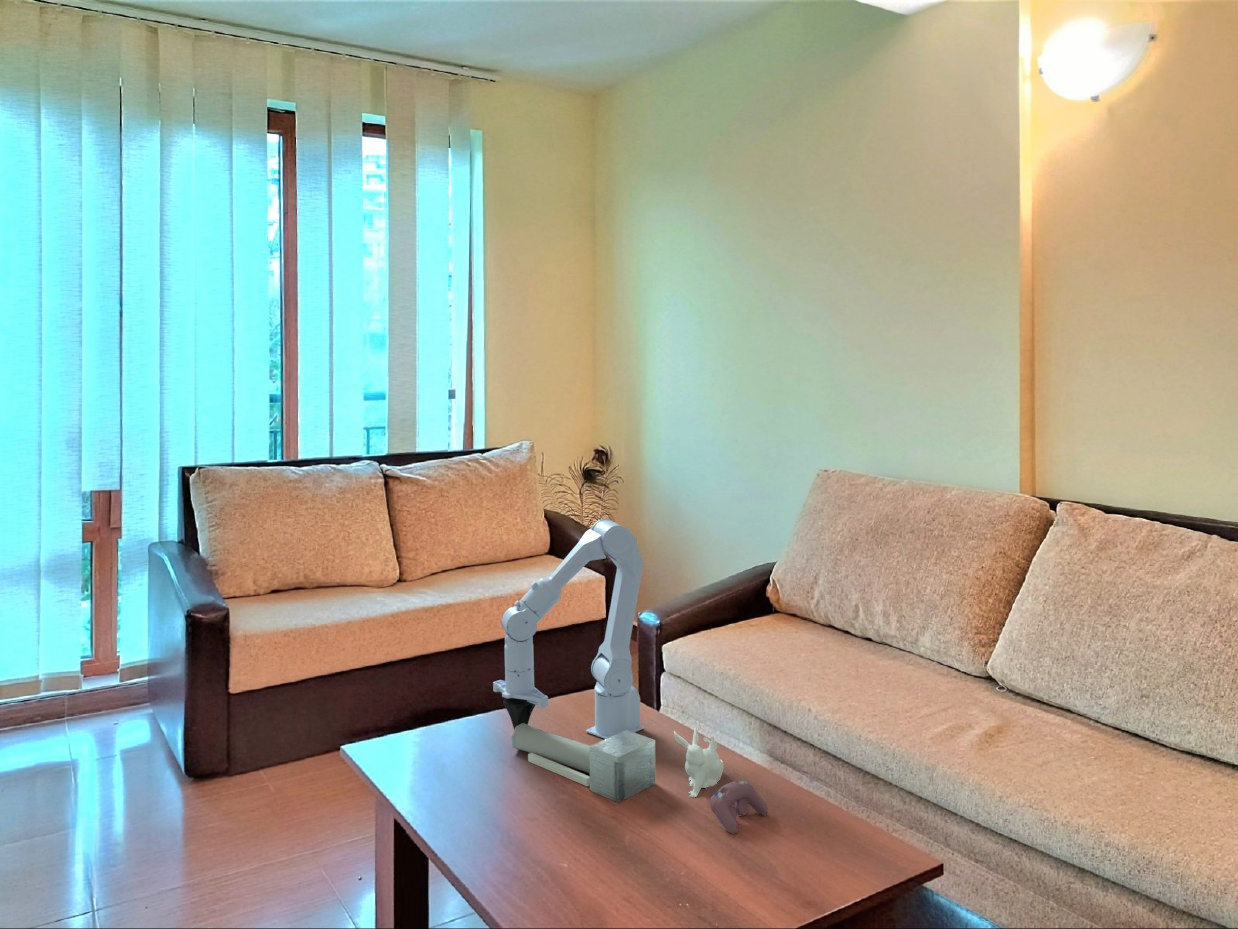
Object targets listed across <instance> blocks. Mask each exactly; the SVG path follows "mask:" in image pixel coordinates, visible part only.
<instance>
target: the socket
mask: <svg viewBox="0 0 1238 929" xmlns="http://www.w3.org/2000/svg"><path fill="white" fill-rule="evenodd" d="M589 758H590V773H589V777H590V785H589V791H590V792H593V793H595V794H597V795H600V796H601V797H604V798H607V799H608V800H612V801H614V802H616V803H618V804H619V803H621V802H623V801H625V800H627V799H628V798H630V797H633V796H634V795H637V794H638V793H640V792H642V791H644V790H645V789H648V788H650V787H652V786H654V785H655V784H656V740H655V739H653V738H650V737H648V736H645V735H642V734H639V733H637V732H635V733H634V732H631V731H628V730H625V731H623V732H621V733H618V734H616V735H614V736H612V737H609V738H607V739H603V740H600V741H598V742H596V743H594V744H591V745H589Z"/></svg>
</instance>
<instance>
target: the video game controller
mask: <svg viewBox="0 0 1238 929" xmlns="http://www.w3.org/2000/svg"><path fill="white" fill-rule="evenodd" d="M733 804H734V805H733ZM709 805H710V807H709V808H710V810H711V812H712V813H713V814H714V815H715V816H716V818H717V820H718V821H719V823H720V824H721V826H722V827H723V828H725V830H726V831H727V832H729V833H730V832H731V833H730V834H732V833H734V834H733V835H736V834H737V833H738V831H739V828H738V827H739V826H738V823H737V821H736V820H737V816H739V815H743V816H746V815H747V814H749V806H750V807H752V809H754V810H755V811H756V812H757V813H758V814H760V815H761V814H763V815H766V816H767V815H768V813H769V808H768V804H767V803H766V801H765V800H764V799H763V798H762V797H761V795H760V794H759V793H758V791H757V790H756V788H754V786H753V785H752V784H751V783H749V782H748V781H747V780H745V781H744V780H736V781H731V782H728V783H725V784H723V785H722V786H721V787H720V788H719V789H718V790H717V791H716V792H715V793H714V794H712V796H711V797H710V799H709ZM732 805H733V806H734V807H733V806H732ZM763 815H762V816H763ZM735 833H736V834H735Z"/></svg>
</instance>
